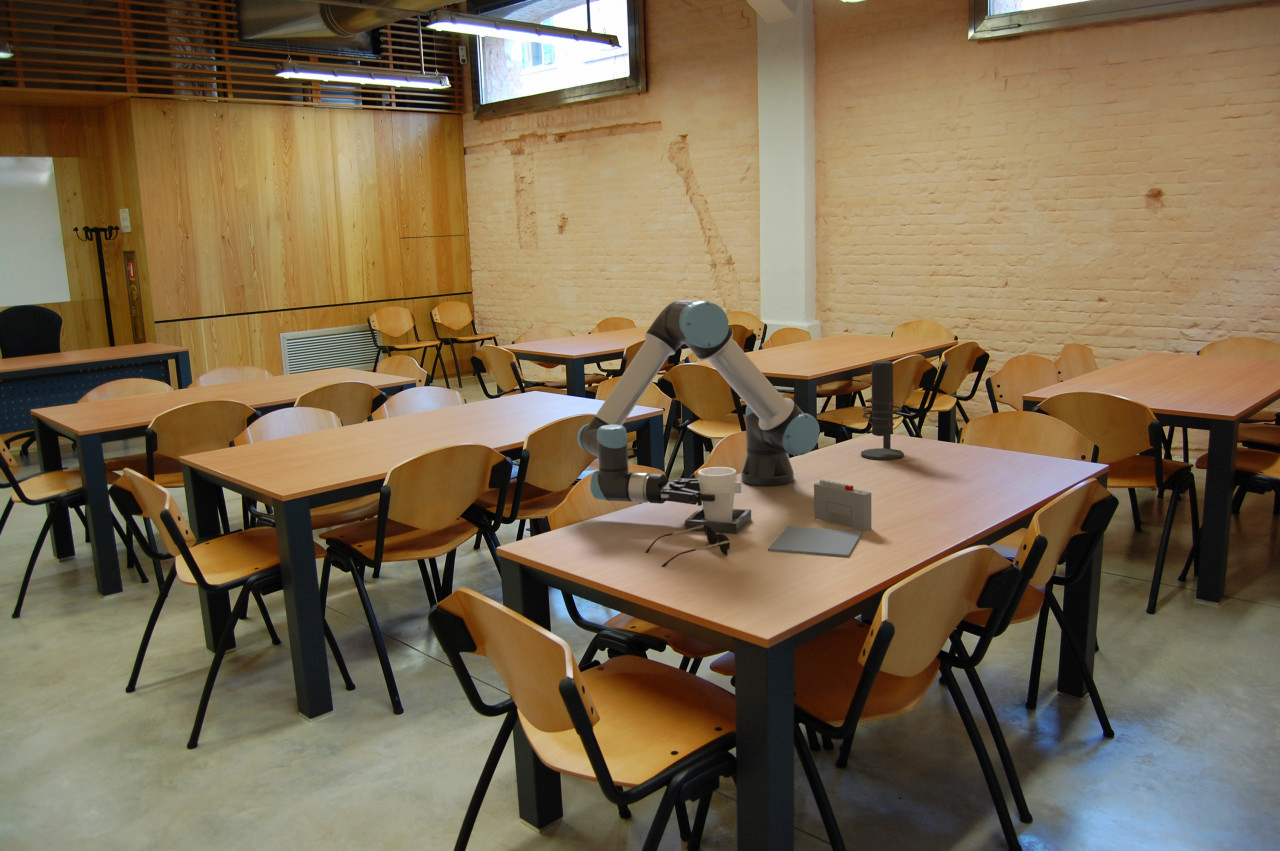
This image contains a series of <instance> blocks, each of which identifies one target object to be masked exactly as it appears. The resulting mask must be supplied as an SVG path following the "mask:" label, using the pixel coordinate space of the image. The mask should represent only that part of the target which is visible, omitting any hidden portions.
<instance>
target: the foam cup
mask: <svg viewBox="0 0 1280 851" xmlns="http://www.w3.org/2000/svg"><path fill="white" fill-rule="evenodd" d="M737 476H738V475H737V470H736V469H735V468H731V467H728V466H712V467H704V468H701V469H699V470H698V471H697V479H698V482H699V485H700V491H701V494H702V491H717V492H729V504H722V503H705V502H703V501H702V507H703V509H704V515H705V517H704V519H705V520H704V521H718V522H732V520H733V519H732V513H733V508H734V502H735V501H734V500H735V494H736V493H735V484H736V482H738V481H737V480H738V478H737Z"/></svg>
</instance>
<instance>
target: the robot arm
mask: <svg viewBox="0 0 1280 851" xmlns="http://www.w3.org/2000/svg"><path fill="white" fill-rule="evenodd" d="M727 315H728V314H727V313H726V312H725V311H724V309H723V308H722V307H721V306H719V305H718V304H716V303H715V302H713V301H709V300H706V299H705V300H703V299H697V300H695V299H678V300H675V301H673V302H670V303H669V304H667V305H666V306H665V307H664V308H663V310H661V312H660V313H659V314H658V315H657V316H656V318H655V320H653V322H652V323H651V325H650V326H649V328H648V329H647V331H646V333H645V334H644V337H645V340H644V342H643V344H641V346H640V347H639V349H638V351H637V352H636V354H635V356H634V357H633V358H632V360H631V362H630V363H629V365H628V366H627V367H626V369H625V371H624V372H623V373H622V375H621V377H620V378H619V380H618V381H617V382H616V384H615V386H614V387H613V388H612V390H611V392H610V393H609V394H608V396H607V398H606V399H605V401H604V402H603V404H602V405H601V407H600V408H599V410H598V411H597V413H596V414H595V415H594V417H593V418H592V420H591V421H590V423H586V424H585V425H583V426H582V427H580V429H578V432H577V435H576V436H577V437H576V440H577V441H576V442H577V444H578V446H579V447H580V448H581V449H582V450H584V451H585V452H586V453H589V454H591V455H593V456H595V457H596V458H598V465H599V466H598V470H597V471H595V472H593V474H592V475H591V477H590V484H589V487H590V488H589V489H590V493H591V495H592V497H594V498H595V499H596V500H603V501H607V502H632V503H637V504H638V505H642V504H643V503H644V504H646V503H650V504H659V505H660V504H664V503H665V502H674V503H678V504H679V503H680V504H685V505H686V504H687V505H693V506H695V505H697V507H702V506H703V503H702V501H703V502H705V503H722V504H729V492H717V491H702V494H701V491H700V485H699V482H698V478H683V477H682V478H681V477H679V478H678V479H674V480H672V481H670V480H668V476H667V475H666V474H664V473H655V472H654V473H650V472H649V473H648V472H630V471H629V458H628V457H629V454H628V451H629V450H628V434H627V429H626V427H625V426H624V425H623V424H624V423H625V422H626V420H627V419H628V417H629V416H630V414H631V413H632V411H633V410H634V408H635V407H636V405H637V404H638V402H639V401H640V399H641V398H642V396H644V393H645V392H646V391H647V389H648V388H649V386H650V385H651V383H652V382H653V380H654V378H655V377H656V375H657V374H658V373H659V371H660V370H661V369H662V367H663V365H664V364H665V363H666V361H667V359H668V358H669V357H670V356H674V355H675V354H676V353H677V351H678V349H680V347H681V346H683V345H685V346H687V347H688V348H689V350H690V351H691V352H692V353H693V354H695V357H697V358H698V359H699V360H703V361H705V360H706V361H708V363H709V364H711V365H712V367H713V368H714V369H715V370H716V371H717V372H718V374H720V376H721V377H722V378H723V379H724V381H726V383H727V384H728V385H729V386H730V387H731V388H732V389H733V390H734V392H735V393H737V394H736V395H738V397H740V398H741V400H742V401H743V402H744V403H745V404H746V405H747V406H746V407H745V416H744V418H745V431H746V432H745V434H746V435H745V436H746V456H745V460H744V463H743V466H742V470H741V475H740V476H741V477H740V478H741V481H736V484H735V494H741V493H742V483H744V484H747V485H753V486H765V487H766V486H767V487H768V486H770V487H771V486H779V485H786V484H790V483H791V482H793V481H794V478H795V477H794V476H795V473H794V470H793V467H792V463H791V462H790V458H789V455H791V456H804V455H806V454H809V453H810V452H811V451H812V450H813V449H814V448H815V447H816V445H817V443H818V441H819V437H820V436H819V435H820V431H821V430H820V424H819V422H818V420H817V419H816V418H815V416H813V415H811V414H809V413H804V411H803V410H802V409H801V408H800V407H799V406H798V405H797V403H796V402H795V401H794V400H793V399H792V398H790V397H783V396H782V394H780V392H779V391H778V390H777V389H776V387H774V385H773V384H772V383H771V382H770V381H769V380H768V378H767V377H766V376H765V375H764V374H763V372H762V371H761V370H760V368H758V367H757V365H756V364H755V363H754V362H753V360H751V358H750V357H749V356H748V355H747V354H746V353H745V351H744V350H743V349H742V348H741V346H740V345H739V344H738V343H737V342H736V341H735V340H734V339H733V338H734V337H733V335H734V330H733V328H732V327H731V326H730V324H729V318H728V316H727Z"/></svg>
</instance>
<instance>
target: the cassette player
mask: <svg viewBox="0 0 1280 851" xmlns="http://www.w3.org/2000/svg"><path fill="white" fill-rule="evenodd" d="M813 498H814V499H813V508H814V510H813V511H814V514H813V516H814V517H813V518H814V520H818V521H822V522H827V523H830V524H835V525H838V526H842V527H846V528H848V529H849V528H851V529H854V530H856V531H862V532H866V531H869V530H872V492H869V491H867V490H860V489H856V488H854V485H851V484H848V483H847V484H845V483H842V482H836V481H832V480H827V479H819V482H816V483H814V484H813Z"/></svg>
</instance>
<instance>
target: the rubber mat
mask: <svg viewBox="0 0 1280 851" xmlns="http://www.w3.org/2000/svg"><path fill="white" fill-rule="evenodd" d="M862 535H863V531H861V530H849V529H833V528H819V527H806V526H805V527H803V526H789V525H788V526H786V527H785V528H784V529H783V531H781V532H780V533H779V535H778V536H777V537H776V539H775V540H774V541H773V542H772V543H771V544H770V545H769V547H768V548H767V551H768V552H778V553H779V552H780V553H781V552H783V553H791V554H792V553H793V554H794V553H795V554H805V555H819V556H831V557H832V556H833V557H843V558H844V557H846V558H849V557H850V555H851V553H852V552H853V550H854V548H855V546H856V545H857V543H858V541H859V540H860V538H861V537H862Z"/></svg>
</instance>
